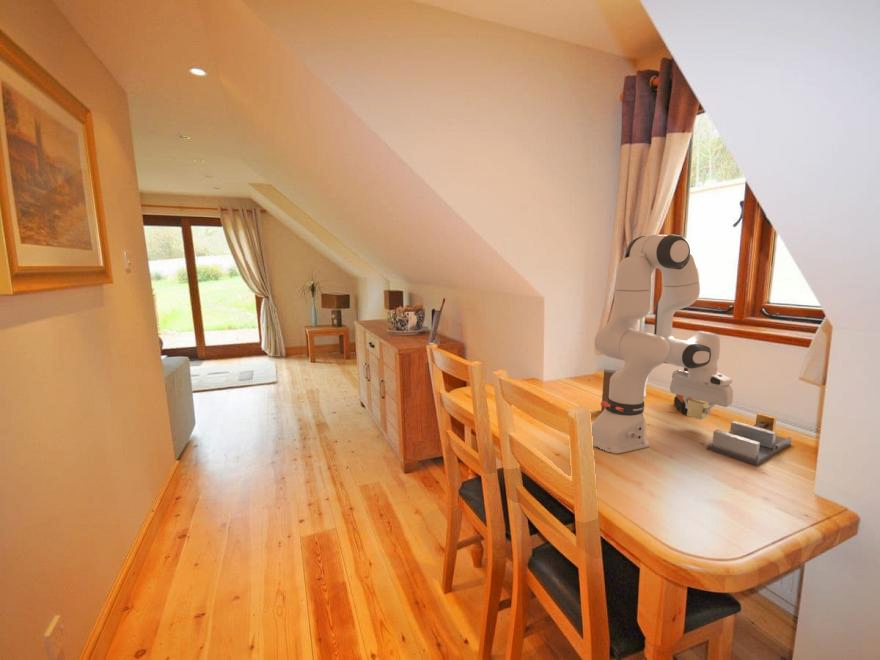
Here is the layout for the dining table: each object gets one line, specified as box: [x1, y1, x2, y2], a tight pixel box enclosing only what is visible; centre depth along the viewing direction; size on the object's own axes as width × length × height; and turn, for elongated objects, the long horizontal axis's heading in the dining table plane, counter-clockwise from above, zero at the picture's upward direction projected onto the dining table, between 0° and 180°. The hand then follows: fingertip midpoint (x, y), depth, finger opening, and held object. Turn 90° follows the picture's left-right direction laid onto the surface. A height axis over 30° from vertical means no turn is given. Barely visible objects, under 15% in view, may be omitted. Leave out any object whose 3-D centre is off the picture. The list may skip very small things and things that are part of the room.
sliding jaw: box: [729, 412, 777, 449], centre depth 140 cm, size 13×12×7 cm
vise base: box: [706, 429, 792, 467], centre depth 137 cm, size 28×14×6 cm, turn 123°
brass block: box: [686, 399, 709, 420], centre depth 151 cm, size 4×5×6 cm
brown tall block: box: [600, 369, 617, 414], centre depth 167 cm, size 9×4×18 cm, turn 66°
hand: (697, 411), depth 151 cm, fingers closed on brass block, 5 cm apart
